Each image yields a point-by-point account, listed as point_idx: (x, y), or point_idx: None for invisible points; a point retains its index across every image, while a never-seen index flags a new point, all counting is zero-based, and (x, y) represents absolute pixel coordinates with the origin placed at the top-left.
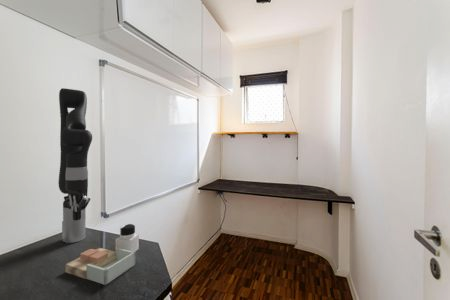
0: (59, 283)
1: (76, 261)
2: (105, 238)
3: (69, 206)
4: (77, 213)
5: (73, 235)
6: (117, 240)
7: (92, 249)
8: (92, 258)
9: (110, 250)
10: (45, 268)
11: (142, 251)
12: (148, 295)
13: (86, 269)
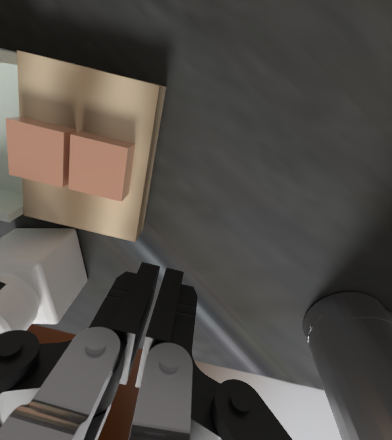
0: (116, 2)
1: (129, 117)
2: (218, 335)
3: (238, 427)
4: (99, 316)
5: (335, 320)
6: (28, 260)
7: (107, 194)
8: (45, 126)
9: (68, 225)
10: (279, 99)
11: None
12: None
13: (14, 53)
